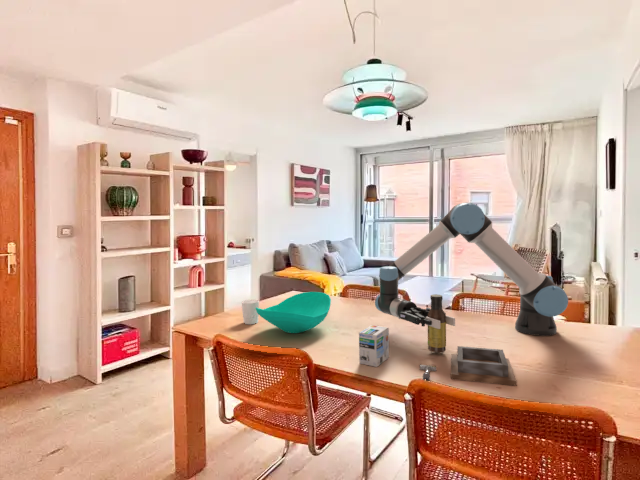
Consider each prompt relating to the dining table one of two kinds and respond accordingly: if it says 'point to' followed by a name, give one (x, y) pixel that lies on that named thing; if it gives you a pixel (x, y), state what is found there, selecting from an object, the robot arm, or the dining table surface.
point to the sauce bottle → (436, 335)
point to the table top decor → (298, 312)
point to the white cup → (250, 311)
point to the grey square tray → (482, 366)
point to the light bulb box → (373, 345)
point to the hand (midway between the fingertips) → (446, 323)
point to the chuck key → (427, 370)
